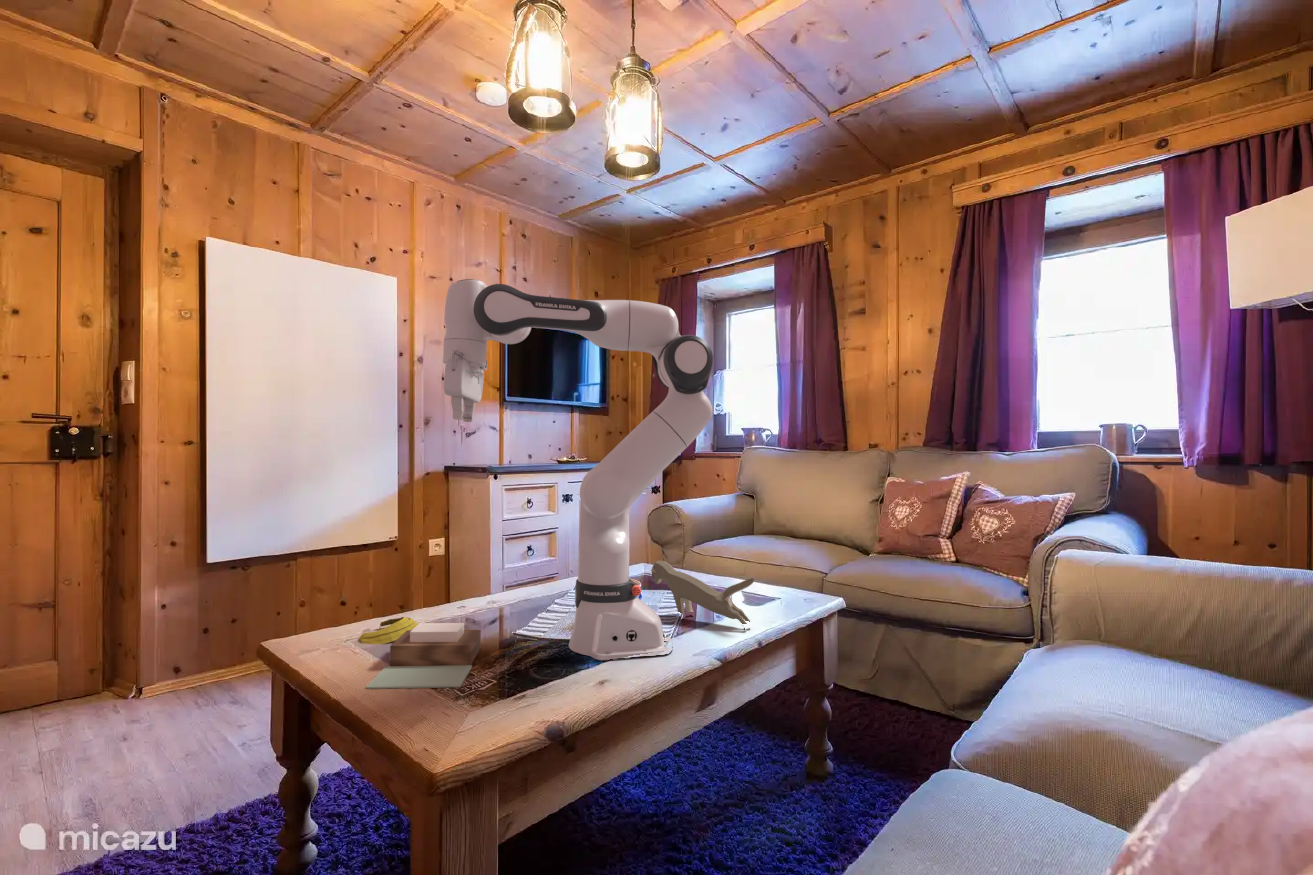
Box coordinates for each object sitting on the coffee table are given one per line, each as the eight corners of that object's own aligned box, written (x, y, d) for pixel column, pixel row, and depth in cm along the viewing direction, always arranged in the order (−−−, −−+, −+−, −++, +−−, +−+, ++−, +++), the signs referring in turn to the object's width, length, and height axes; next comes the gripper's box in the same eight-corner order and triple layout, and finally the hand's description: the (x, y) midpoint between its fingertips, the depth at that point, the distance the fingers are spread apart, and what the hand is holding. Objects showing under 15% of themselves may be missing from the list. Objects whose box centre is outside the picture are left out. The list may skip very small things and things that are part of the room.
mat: (472, 666, 114) (472, 665, 114) (460, 687, 104) (460, 685, 104) (385, 667, 113) (386, 666, 113) (365, 688, 103) (365, 686, 103)
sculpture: (744, 649, 146) (652, 588, 162) (771, 582, 143) (674, 527, 159) (732, 656, 141) (638, 592, 157) (759, 587, 137) (661, 529, 153)
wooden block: (480, 648, 125) (480, 629, 125) (470, 665, 115) (470, 644, 115) (406, 649, 123) (406, 630, 123) (389, 666, 113) (390, 645, 113)
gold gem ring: (427, 638, 132) (428, 619, 132) (365, 649, 124) (365, 629, 124) (410, 625, 142) (410, 607, 142) (351, 634, 134) (352, 615, 134)
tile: (464, 632, 122) (464, 622, 122) (457, 641, 116) (457, 631, 116) (419, 633, 121) (419, 623, 122) (409, 642, 116) (410, 631, 116)
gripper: (469, 348, 117) (467, 418, 116) (488, 363, 137) (486, 423, 137) (436, 347, 116) (434, 417, 116) (460, 362, 136) (458, 422, 136)
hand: (463, 420), depth 126 cm, fingers open, 8 cm apart
